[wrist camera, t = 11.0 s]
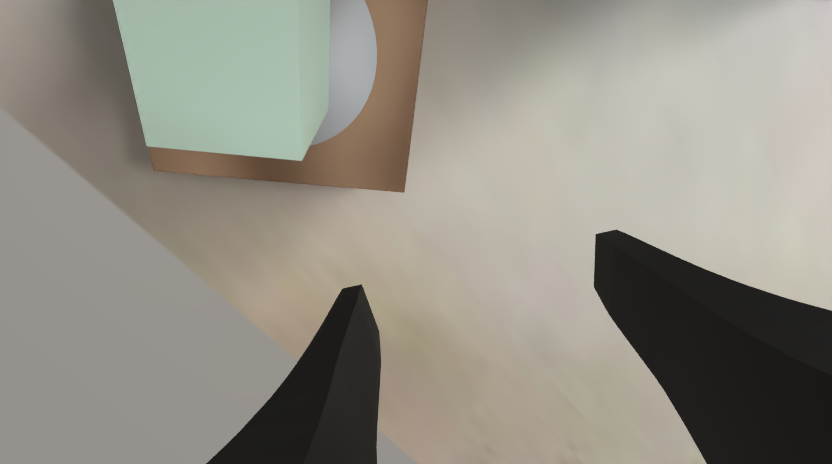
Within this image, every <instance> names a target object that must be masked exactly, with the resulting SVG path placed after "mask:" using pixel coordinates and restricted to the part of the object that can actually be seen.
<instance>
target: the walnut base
mask: <svg viewBox="0 0 832 464" xmlns="http://www.w3.org/2000/svg"><path fill="white" fill-rule="evenodd" d="M427 2H428V0H330V44H329V109H328V111H327V113H326V115H325V117H324V119H323V121H322V123H321V125H320V127H319V129H318V131H317V133H316V134H315V136H314V138H313V140H312V142H311V144H310V146H309V148H308V150H307V152H306V154H305V156H304V158H303V160H302V161H297V160H287V159H276V158H265V157H255V156H244V155H234V154H223V153H213V152H202V151H191V150H181V149H170V148H160V147H149V146H148V147H149V151H150V156H151V160H152V165H153V169H154V171H162V172H173V173H185V174H196V175H208V176H220V177H231V178H243V179H254V180H266V181H277V182H289V183H301V184H312V185H324V186H335V187H347V188H359V189H370V190H382V191H393V192H404V190H405V182H406V174H407V166H408V158H409V150H410V141H411V133H412V125H413V117H414V109H415V101H416V92H417V84H418V76H419V68H420V60H421V51H422V43H423V35H424V27H425V19H426V11H427Z"/></svg>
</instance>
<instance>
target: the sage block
mask: <svg viewBox="0 0 832 464" xmlns="http://www.w3.org/2000/svg"><path fill="white" fill-rule="evenodd" d="M113 3H114V7H115V12H116V16H117V20H118V25H119V29H120V33H121V38H122V42H123V46H124V51H125V55H126V59H127V64H128V68H129V72H130V77H131V81H132V85H133V90H134V94H135V98H136V103H137V107H138V111H139V116H140V120H141V124H142V129H143V133H144V137H145V142H146V146H149V147H160V148H170V149H181V150H191V151H202V152H213V153H223V154H234V155H244V156H255V157H265V158H276V159H287V160H297V161H302V160H303V158H304V156H305V154H306V152H307V150H308V148H309V146H310V144H311V142H312V140H313V138H314V136H315V134H316V133H317V131H318V129H319V127H320V125H321V123H322V121H323V119H324V117H325V115H326V113H327V111H328V109H329V44H330V0H113Z"/></svg>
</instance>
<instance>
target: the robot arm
mask: <svg viewBox="0 0 832 464" xmlns="http://www.w3.org/2000/svg"><path fill="white" fill-rule="evenodd" d="M594 288H595V290H596V291H597V293H598V295H599V297H600V299H601V301H602V303H603V305H604V306H605V308H606V310H607V312H608V313H609V315H610V316H611V318H612V319H613V321H614V322H615V323H616V325H617V326H618V328H619V329H620V330H621V332H622V333H623V334H624V336H625V337H626V338H627V340H628V341H629V343H630V344H631V345H632V347H633V348H634V349H635V351H636V352H637V353H638V355H639V356H640V357H641V359H642V360H643V361H644V363H645V364H646V365H647V367H648V368H649V369H650V371H651V372H652V373H653V375H654V376H655V378H656V379H657V380H658V382H659V383H660V385H661V386H662V388H663V389H664V391H665V392H666V394H667V396H668V397H669V399H670V401H671V402H672V404H673V406H674V407H675V409H676V411H677V412H678V414H679V416H680V417H681V419H682V421H683V422H684V424H685V426H686V427H687V429H688V431H689V433H690V435H691V436H692V438H693V440H694V442H695V443H696V445H697V447H698V449H699V450H700V452H701V454H702V456H703V457H704V459H705V461H706V463H707V464H832V311H830V310H827V309H823V308H819V307H815V306H812V305H808V304H804V303H801V302H797V301H794V300H791V299H787V298H784V297H781V296H777V295H774V294H771V293H768V292H765V291H762V290H759V289H756V288H753V287H750V286H747V285H744V284H742V283H739V282H736V281H733V280H731V279H728V278H726V277H723V276H721V275H718V274H716V273H713V272H710V271H708V270H705V269H703V268H701V267H698V266H696V265H694V264H691V263H689V262H687V261H684V260H682V259H680V258H678V257H675V256H673V255H671V254H669V253H667V252H665V251H662V250H660V249H658V248H656V247H654V246H652V245H649V244H647V243H645V242H643V241H641V240H639V239H637V238H634V237H632V236H630V235H628V234H626V233H623V232H621V231H618V230H613V231H608V232H604V233H599V234H596V244H595V271H594ZM380 371H381V353H380V338H379V330H378V327H377V324H376V322H375V319H374V316H373V314H372V311H371V308H370V306H369V303H368V300H367V297H366V295H365V292H364V289H363V287H362V285H357V286H353V287H348V288H343V289H342V290H341V292H340V294H339V295H338V297H337V299H336V301H335V302H334V304H333V306H332V308H331V309H330V311H329V313H328V315H327V317H326V318H325V320H324V322H323V323H322V325H321V327H320V328H319V330H318V332H317V333H316V335H315V337H314V338H313V340H312V341H311V343H310V345H309V346H308V348H307V349H306V351H305V352H304V354H303V355H302V357H301V358H300V359H299V361H298V362H297V364H296V365H295V367H294V368H293V370H292V371H291V372H290V374H289V375H288V377H287V378H286V379H285V380H284V382H283V383H282V384H281V385H280V387H279V388H278V389H277V391H276V392H275V393H274V394H273V395H272V397H271V398H270V399H269V400H268V401H267V402H266V403H265V405H264V406H263V407H262V408H261V409H260V410H259V411H258V412H257V413H256V414H255V415H254V417H253V418H252V419H251V420H250V421H249V422H248V423H247V424H246V425H245V426H244V428H243V429H242V430H241V431H240V432H239V433H238V434H237V435H236V436H235V437H234V438H233V439H232V440H231V441H230V442H229V443H228V444H227V445H226V446H225V447H224V448H223V449H221V451H219V452H218V453H217V454H216V455H215V456H214V457H213V458H212V459H211V460H210V461H209V462H208V463H207V464H377V451H376V442H377V420H378V404H379V388H380Z"/></svg>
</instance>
